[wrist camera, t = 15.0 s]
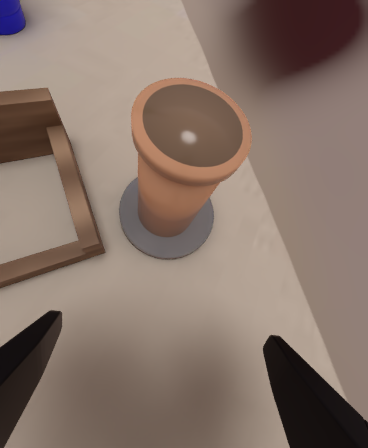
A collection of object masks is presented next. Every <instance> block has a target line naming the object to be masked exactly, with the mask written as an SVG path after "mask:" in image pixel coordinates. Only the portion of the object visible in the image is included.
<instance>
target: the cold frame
mask: <svg viewBox="0 0 368 448" xmlns="http://www.w3.org/2000/svg"><path fill="white" fill-rule="evenodd" d="M49 154H54V156H55V159H56V163H57V166H58V170H59V173H60V177H61V180H62V184H63V187H64V191H65V194H66V197H67V201H68V204H69V208H70V211H71V215H72V218H73V222H74V225H75V229H76V232H77V236H78V239H79V241H75V242H72V243H69V244H66V245H62V246H59V247H56V248H53V249H49V250H46V251H43V252H40V253H36V254H33V255H30V256H27V257H23V258H20V259H17V260H14V261H10V262H7V263H4V264H1V265H0V288H2V287H5V286H8V285H11V284H14V283H17V282H20V281H23V280H26V279H28V278H31V277H34V276H37V275H40V274H43V273H46V272H49V271H52V270H55V269H58V268H61V267H64V266H67V265H70V264H73V263H76V262H79V261H82V260H85V259H88V258H91V257H94V256H96V255H99V254H102V253H105V250H104V247H103V244H102V241H101V238H100V235H99V231H98V228H97V225H96V222H95V219H94V216H93V212H92V209H91V206H90V203H89V200H88V197H87V193H86V190H85V187H84V184H83V181H82V178H81V175H80V171H79V168H78V165H77V162H76V159H75V156H74V152H73V149H72V146H71V143H70V140H69V138H68V135H67V133H66V130H65V128H64V126H63V123H62V121H61V118H60V116H59V114H58V111H57V109H56V106H55V104H54V102H53V99H52V97H51V94H50V92H49V90H48V88H39V89H27V90H15V91H4V92H0V163H4V162H10V161H15V160H21V159H26V158H32V157H38V156H43V155H49Z"/></svg>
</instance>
